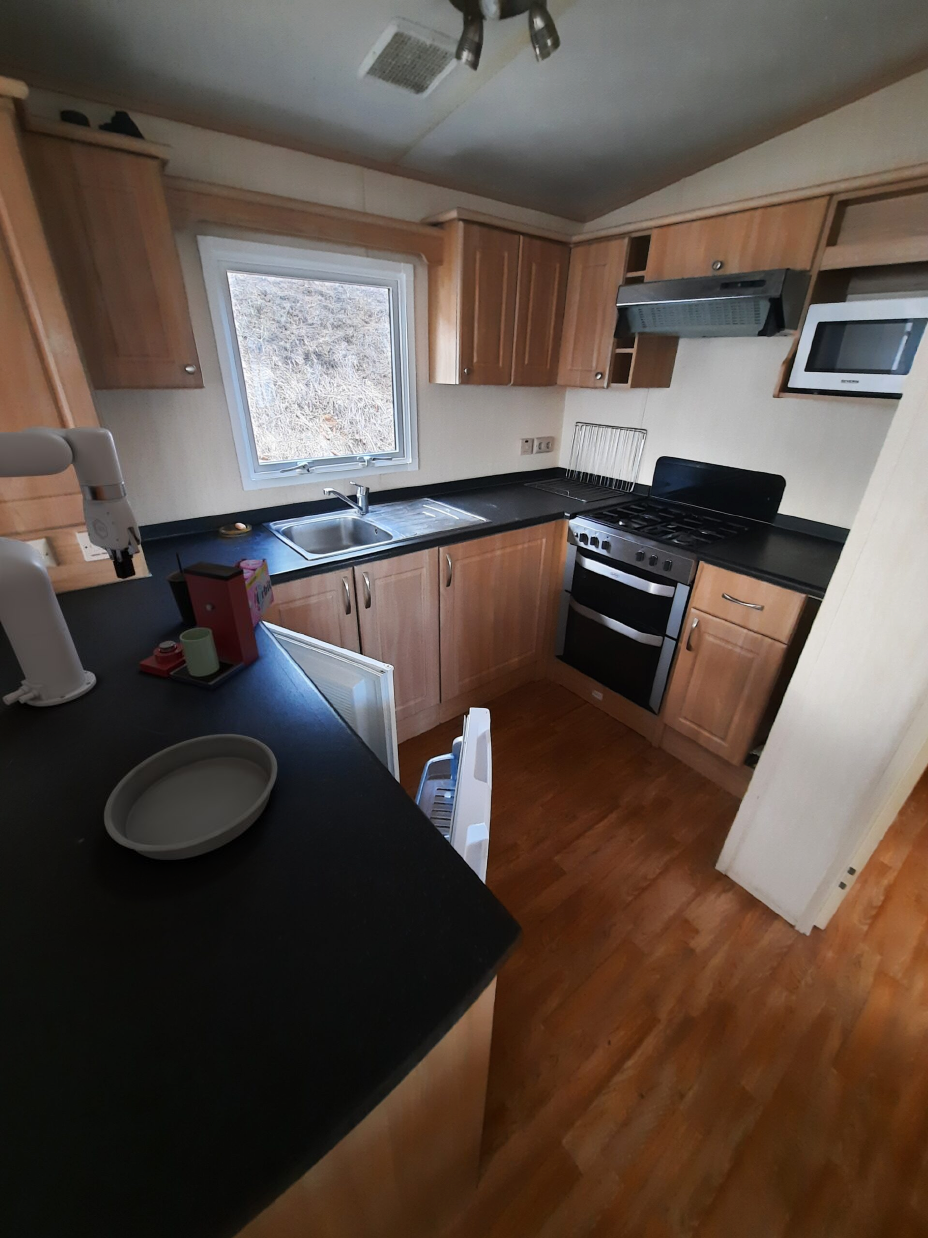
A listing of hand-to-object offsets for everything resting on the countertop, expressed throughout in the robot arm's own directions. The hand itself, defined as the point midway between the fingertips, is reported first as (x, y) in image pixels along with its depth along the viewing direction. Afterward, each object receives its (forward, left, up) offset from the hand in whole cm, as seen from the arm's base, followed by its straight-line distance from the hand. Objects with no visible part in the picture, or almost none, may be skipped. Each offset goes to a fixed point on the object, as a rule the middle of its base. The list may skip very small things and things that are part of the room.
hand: (126, 576), depth 111 cm
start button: (+2, -5, -18) cm, 19 cm away
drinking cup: (+21, +8, -22) cm, 32 cm away
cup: (+1, -16, -21) cm, 26 cm away
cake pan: (-29, -45, -22) cm, 58 cm away
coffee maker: (+4, -16, -22) cm, 27 cm away
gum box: (+29, -4, -22) cm, 36 cm away
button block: (+2, -5, -22) cm, 23 cm away
